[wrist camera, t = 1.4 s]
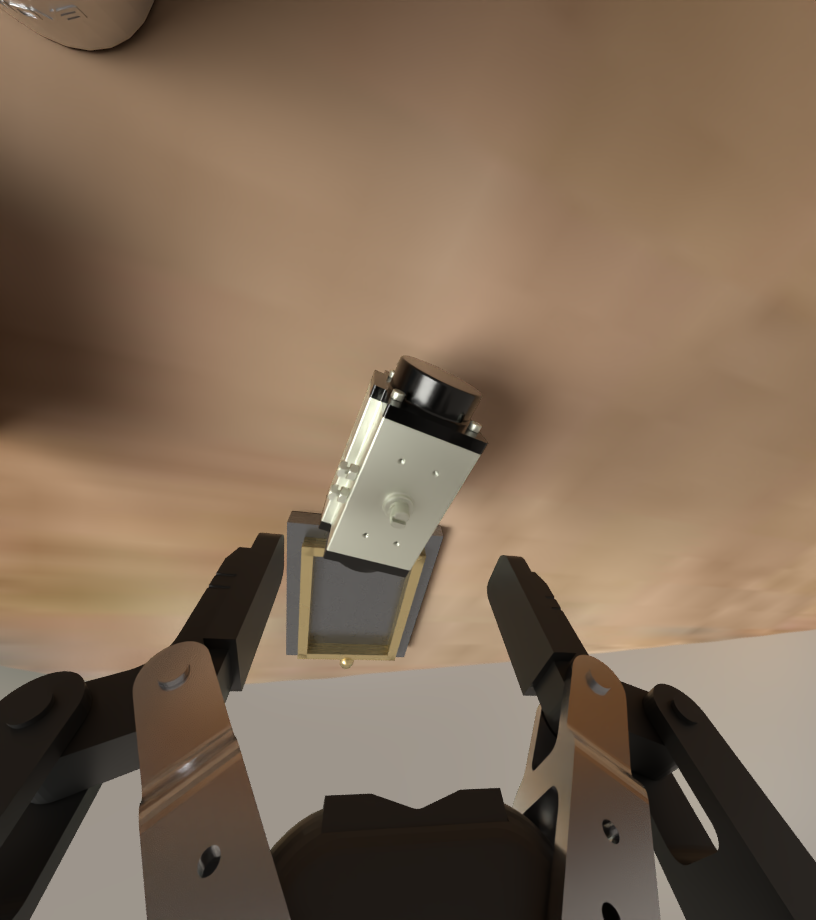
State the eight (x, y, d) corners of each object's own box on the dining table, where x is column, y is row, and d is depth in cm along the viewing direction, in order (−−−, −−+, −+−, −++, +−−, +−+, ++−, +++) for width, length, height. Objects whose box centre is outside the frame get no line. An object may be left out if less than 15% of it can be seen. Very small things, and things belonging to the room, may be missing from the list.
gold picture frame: (291, 511, 27) (282, 534, 24) (440, 525, 29) (446, 548, 26) (289, 641, 36) (282, 668, 33) (403, 644, 38) (404, 670, 36)
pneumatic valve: (450, 363, 22) (518, 424, 11) (390, 488, 26) (397, 612, 16) (380, 330, 20) (381, 365, 10) (329, 468, 25) (293, 591, 15)
